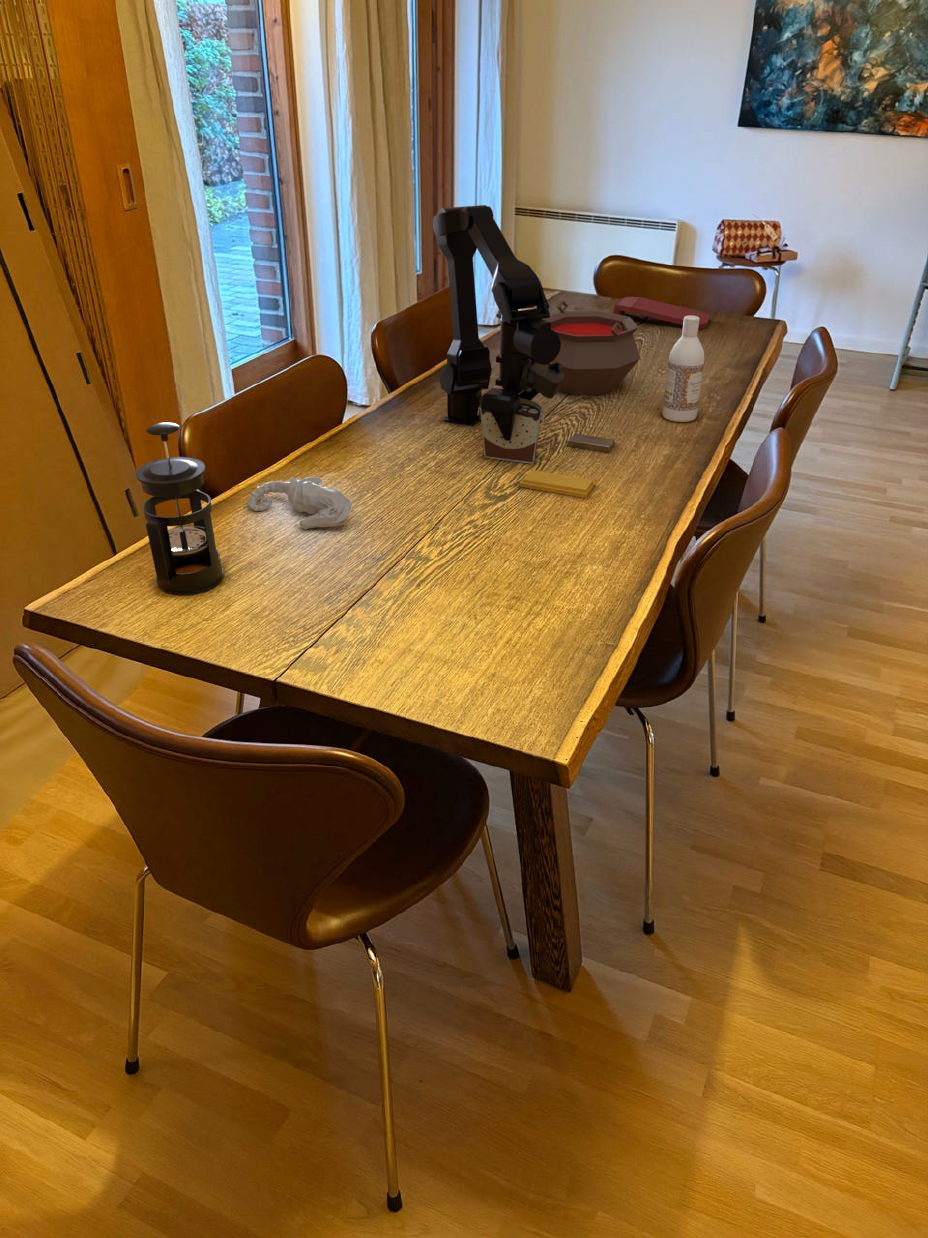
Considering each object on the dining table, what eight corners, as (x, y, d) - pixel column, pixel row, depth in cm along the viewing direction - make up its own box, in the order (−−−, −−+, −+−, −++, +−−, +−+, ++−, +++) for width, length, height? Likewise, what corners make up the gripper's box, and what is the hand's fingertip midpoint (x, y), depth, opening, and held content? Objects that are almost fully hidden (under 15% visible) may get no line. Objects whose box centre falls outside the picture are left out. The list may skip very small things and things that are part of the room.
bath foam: (678, 425, 183) (692, 323, 172) (654, 415, 188) (665, 315, 177) (703, 418, 186) (718, 318, 175) (679, 408, 191) (691, 310, 180)
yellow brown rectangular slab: (518, 486, 158) (519, 479, 157) (528, 476, 162) (529, 468, 161) (585, 498, 154) (586, 490, 153) (594, 487, 158) (594, 479, 157)
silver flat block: (567, 446, 174) (568, 440, 173) (574, 439, 177) (574, 433, 176) (608, 452, 171) (609, 446, 170) (614, 445, 174) (615, 439, 174)
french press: (181, 557, 137) (153, 408, 125) (238, 565, 135) (215, 415, 122) (137, 596, 127) (101, 439, 115) (197, 606, 125) (167, 447, 113)
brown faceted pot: (660, 392, 200) (668, 316, 191) (565, 409, 191) (570, 330, 182) (599, 363, 218) (604, 292, 209) (510, 377, 209) (512, 303, 200)
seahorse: (226, 513, 147) (335, 516, 139) (256, 465, 154) (361, 465, 146) (240, 536, 151) (346, 539, 143) (268, 488, 157) (371, 489, 150)
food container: (549, 453, 171) (552, 400, 166) (541, 465, 166) (543, 411, 161) (486, 445, 174) (487, 393, 169) (476, 456, 169) (477, 403, 164)
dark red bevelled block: (706, 331, 254) (619, 310, 259) (711, 313, 251) (623, 292, 256) (700, 343, 244) (610, 320, 249) (705, 325, 241) (614, 302, 246)
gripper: (542, 369, 150) (537, 459, 158) (576, 340, 164) (571, 424, 172) (479, 361, 153) (478, 449, 162) (518, 334, 168) (516, 416, 176)
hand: (513, 434), depth 168 cm, fingers closed on food container, 6 cm apart
